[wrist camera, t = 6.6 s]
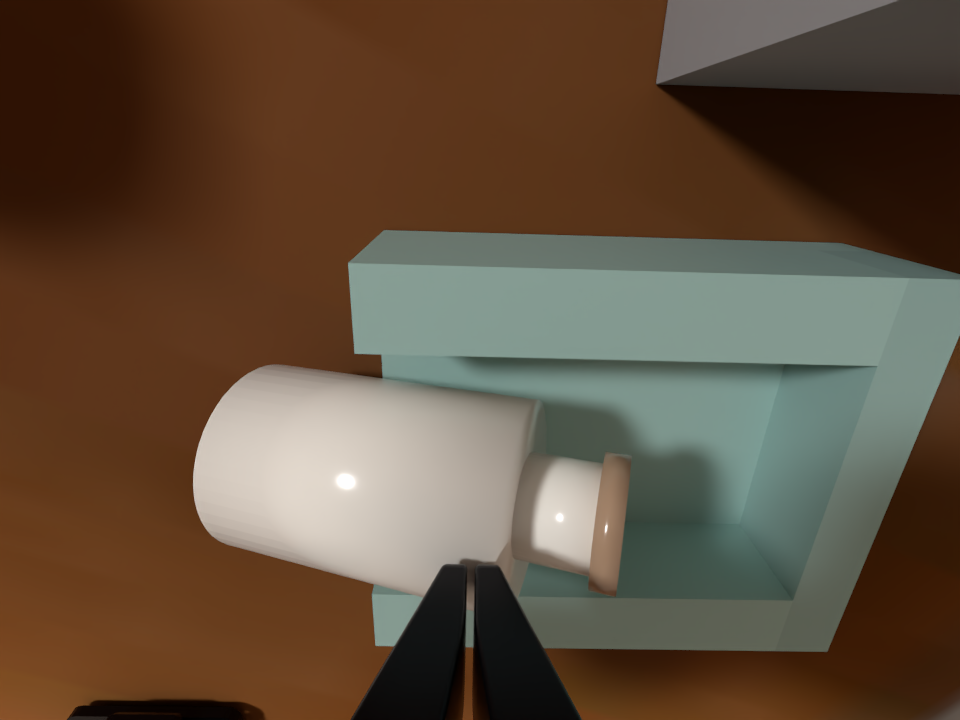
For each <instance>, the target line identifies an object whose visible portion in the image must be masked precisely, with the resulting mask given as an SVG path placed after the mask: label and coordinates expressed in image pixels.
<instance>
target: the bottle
mask: <svg viewBox="0 0 960 720" xmlns="http://www.w3.org/2000/svg"><path fill="white" fill-rule="evenodd" d="M631 459H632V455H627V454H620V453H614V452H608V451H606V453H605V457H604V462H603V463H599V462H593V461H587V460H581V459H575V458H569V457H563V456H557V455H551V454H546V417H545V410H544V406H543V404H542V402H541V401H540V400H538V399H530V398H523V397H516V396H508V395H501V394H494V393H486V392H479V391H471V390H464V389H457V388H449V387H442V386H435V385H427V384H420V383H413V382H405V381H398V380H390V379H383V378H376V377H368V376H361V375H354V374H346V373H339V372H332V371H324V370H317V369H310V368H302V367H295V366H287V365H277V364H275V365H267V366H264V367H261V368H258V369H256V370H254V371H252V372H250V373H248V374H247V375H245V376H244V377H242V378H241V379H240V380H239V381H238V382H236V383H235V384H234V385H233V386H232V387H231V388H230V389H229V390H228V392H227V393H226V394H225V395H224V396H223V398H222V399H221V400H220V402H219V403H218V404H217V406H216V407H215V409H214V411H213V413H212V414H211V416H210V418H209V420H208V422H207V424H206V427H205V429H204V431H203V434H202V437H201V440H200V443H199V446H198V450H197V454H196V458H195V465H194V473H193V490H194V500H195V504H196V508H197V512H198V514H199V517H200V519H201V522H202V523H203V525H204V527H205V528H206V530H207V531H208V532H209V533H210V534H211V535H212V536H213V537H214V538H216V539H217V540H218V541H220V542H222V543H225V544H227V545H231V546H235V547H238V548H242V549H246V550H249V551H253V552H257V553H260V554H264V555H268V556H272V557H275V558H279V559H283V560H286V561H290V562H294V563H297V564H301V565H305V566H308V567H312V568H316V569H320V570H323V571H327V572H331V573H334V574H338V575H342V576H345V577H349V578H353V579H356V580H360V581H364V582H368V583H371V584H375V585H379V586H382V587H386V588H390V589H393V590H397V591H401V592H404V593H408V594H412V595H416V596H419V597H424V595H425V594H426V592H427V590H428V589H429V587H430V585H431V584H432V582H433V580H434V579H435V577H436V575H437V573H438V572H439V570H440V568H441V567H442V566H443V565H445V564H464V565H466V567H467V610H471V611H474V583H475V567H476V566H477V565H479V564H481V565H498V566H499V567H500V568H501V569H502V571H503V573H504V575H505V577H506V579H507V581H508V582H509V584H510V586H511V588H512V590H513V592H514V594H515V596H516V597H517V599H518V596H519V593H520V591H521V588H522V585H523V582H524V578H525V575H526V571H527V568H528V564H529V563H533V564H537V565H541V566H546V567H550V568H554V569H558V570H563V571H567V572H571V573H576V574H580V575H584V576H588V577H589V582H588V591H592V592H596V593H600V594H604V595H608V596H612V597H616V592H617V584H618V576H619V568H620V559H621V551H622V542H623V534H624V525H625V516H626V507H627V498H628V489H629V480H630V470H631Z"/></svg>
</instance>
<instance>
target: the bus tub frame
mask: <svg viewBox="0 0 960 720" xmlns="http://www.w3.org/2000/svg"><path fill="white" fill-rule="evenodd" d="M656 84H661V85H690V86H720V87H750V88H779V89H809V90H838V91H868V92H898V93H927V94H957V95H960V0H668V5H667V12H666V18H665V25H664V32H663V39H662V46H661V53H660V60H659V67H658V74H657V81H656Z"/></svg>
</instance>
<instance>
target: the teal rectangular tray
mask: <svg viewBox="0 0 960 720" xmlns="http://www.w3.org/2000/svg"><path fill="white" fill-rule="evenodd" d="M348 268H349V282H350V296H351V310H352V324H353V337H354V351H355V354H382V374H383V379H390V380H398V381H405V382H413V383H420V384H427V385H435V386H442V387H449V388H457V389H464V390H471V391H479V392H486V393H494V394H501V395H508V396H516V397H523V398H530V399H538V400H540V401H541V402H542V404H543V406H544V410H545V417H546V454H551V455H557V456H563V457H569V458H575V459H581V460H587V461H593V462H599V463H603V462H604V457H605V453H606V451H608V452H614V453H620V454H627V455H632V459H631V470H630V480H629V489H628V498H627V507H626V516H625V525H624V534H623V542H622V551H621V559H620V568H619V576H618V584H617V592H616V597H612V596H608V595H604V594H600V593H596V592H592V591H588V582H589V577H588V576H584V575H580V574H576V573H571V572H567V571H563V570H558V569H554V568H550V567H546V566H541V565H537V564H533V563H529V564H528V568H527V571H526V575H525V578H524V582H523V585H522V588H521V591H520V593H519V596H518V601H519V603H520V605H521V607H522V609H523V611H524V612H525V614H526V616H527V618H528V620H529V622H530V624H531V626H532V627H533V629H534V631H535V633H536V635H537V637H538V639H539V640H540V642H541V644H542V646H543V648H576V649H652V650H727V651H803V652H827V651H828V649H829V646H830V644H831V641H832V639H833V637H834V634H835V632H836V630H837V627H838V625H839V622H840V620H841V618H842V615H843V613H844V610H845V608H846V606H847V603H848V601H849V598H850V596H851V594H852V591H853V589H854V586H855V584H856V582H857V579H858V577H859V575H860V572H861V570H862V567H863V565H864V563H865V560H866V558H867V555H868V553H869V551H870V548H871V546H872V543H873V541H874V539H875V536H876V534H877V532H878V529H879V527H880V524H881V522H882V520H883V517H884V515H885V512H886V510H887V508H888V505H889V503H890V500H891V498H892V496H893V493H894V491H895V488H896V486H897V484H898V481H899V479H900V477H901V474H902V472H903V469H904V467H905V465H906V462H907V460H908V457H909V455H910V453H911V450H912V448H913V445H914V443H915V441H916V438H917V436H918V433H919V431H920V429H921V426H922V424H923V422H924V419H925V417H926V414H927V412H928V410H929V407H930V405H931V402H932V400H933V398H934V395H935V393H936V390H937V388H938V386H939V383H940V381H941V378H942V376H943V374H944V371H945V369H946V367H947V364H948V362H949V359H950V357H951V355H952V352H953V350H954V347H955V345H956V343H957V340H958V338H959V335H960V274H957V273H953V272H949V271H946V270H942V269H938V268H934V267H930V266H927V265H923V264H919V263H915V262H911V261H908V260H904V259H900V258H896V257H892V256H889V255H885V254H881V253H877V252H874V251H870V250H866V249H862V248H858V247H855V246H851V245H847V244H843V243H820V242H785V241H749V240H714V239H678V238H643V237H607V236H572V235H536V234H501V233H465V232H430V231H394V230H384V231H383V232H382V233H381V234H380V235H378V236H377V237H376V238H375V239H374V240H373V241H372V242H371V243H370V244H369V245H367V246H366V247H365V248H364V249H363V250H362V251H361V252H360V253H359V254H358V255H357V256H355V257H354V258H353V259H352V260H351V261H350V262H349V263H348ZM422 599H423V597H419V596H416V595H412V594H408V593H404V592H401V591H397V590H393V589H390V588H386V587H382V586H379V585H375V584H374V588H373V592H372V602H373V616H374V630H375V644H376V646H395V644H396V642H397V641H398V639H399V637H400V636H401V634H402V632H403V631H404V629H405V627H406V626H407V624H408V622H409V621H410V619H411V617H412V616H413V614H414V612H415V610H416V609H417V607H418V605H419V604H420V602H421V600H422ZM473 630H474V611H471V610H467V612H466V647H473Z"/></svg>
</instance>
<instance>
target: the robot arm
mask: <svg viewBox="0 0 960 720" xmlns="http://www.w3.org/2000/svg"><path fill="white" fill-rule="evenodd" d="M466 612H467V567H466V565H464V564H445V565H443V566H442V567H441V568H440V570H439V572H438V573H437V575H436V577H435V579H434V580H433V582H432V584H431V585H430V587H429V589H428V590H427V592H426V594H425V595H424V597H423V599H422V600H421V602H420V604H419V605H418V607H417V609H416V610H415V612H414V614H413V616H412V617H411V619H410V621H409V622H408V624H407V626H406V627H405V629H404V631H403V632H402V634H401V636H400V637H399V639H398V641H397V642H396V644H395V646H394V647H393V649H392V651H391V653H390V654H389V656H388V658H387V659H386V661H385V663H384V664H383V666H382V668H381V669H380V671H379V673H378V674H377V676H376V678H375V679H374V681H373V683H372V684H371V686H370V688H369V690H368V691H367V693H366V695H365V696H364V698H363V700H362V701H361V703H360V705H359V706H358V708H357V710H356V711H355V713H354V715H353V716H352V718H351V720H462V717H463V707H464V685H465V648H466ZM472 704H473V720H582V719H581V717H580V715H579V713H578V712H577V710H576V708H575V706H574V704H573V702H572V700H571V698H570V697H569V695H568V693H567V691H566V689H565V687H564V685H563V683H562V682H561V680H560V678H559V676H558V674H557V672H556V670H555V669H554V667H553V665H552V663H551V661H550V659H549V657H548V655H547V654H546V652H545V650H544V648H543V646H542V644H541V642H540V640H539V639H538V637H537V635H536V633H535V631H534V629H533V627H532V626H531V624H530V622H529V620H528V618H527V616H526V614H525V612H524V611H523V609H522V607H521V605H520V603H519V601H518V599H517V597H516V596H515V594H514V592H513V590H512V588H511V586H510V584H509V582H508V581H507V579H506V577H505V575H504V573H503V571H502V569H501V568H500V567H499V566H498V565H481V564H479V565H477V566H476V567H475V583H474V630H473V687H472ZM67 720H243V716H242V714H241V712H240V711H238V710H237V709H234V708H230V707H165V706H78V707H76V708H75V709H74V711H73V712H72V713H71V715H70V716H69V718H68V719H67Z"/></svg>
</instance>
